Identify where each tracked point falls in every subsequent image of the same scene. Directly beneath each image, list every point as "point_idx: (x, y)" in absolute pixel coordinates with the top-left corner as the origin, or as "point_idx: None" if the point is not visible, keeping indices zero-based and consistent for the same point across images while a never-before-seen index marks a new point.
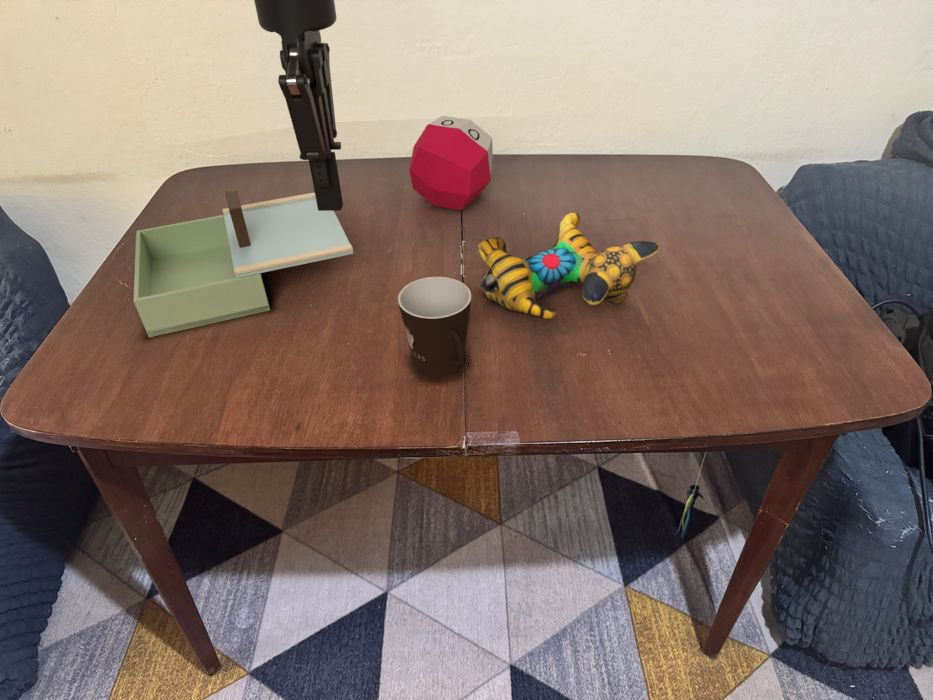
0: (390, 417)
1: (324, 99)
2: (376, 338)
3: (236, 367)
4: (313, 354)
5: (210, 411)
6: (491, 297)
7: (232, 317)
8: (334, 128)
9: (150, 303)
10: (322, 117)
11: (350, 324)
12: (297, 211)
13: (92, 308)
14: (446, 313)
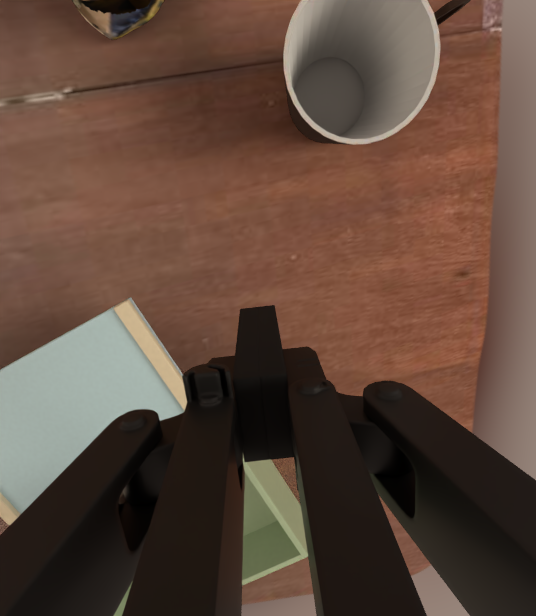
0: (449, 154)
1: (214, 600)
2: (277, 217)
3: (352, 387)
4: (321, 299)
5: (432, 384)
6: (160, 4)
7: None
8: (130, 434)
9: (299, 535)
10: (360, 510)
11: (246, 267)
12: (8, 442)
13: (250, 588)
14: (292, 70)
